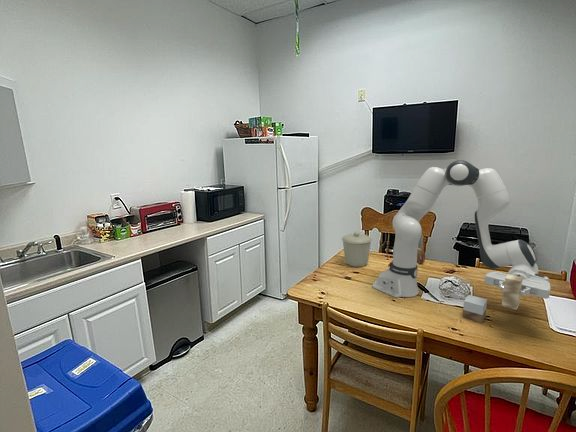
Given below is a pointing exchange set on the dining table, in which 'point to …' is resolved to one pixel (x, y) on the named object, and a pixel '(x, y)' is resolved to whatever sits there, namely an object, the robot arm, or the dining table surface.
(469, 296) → the grey top slab
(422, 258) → the tin
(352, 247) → the canister
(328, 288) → the dining table surface
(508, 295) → the pale ash block
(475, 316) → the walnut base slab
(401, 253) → the robot arm
